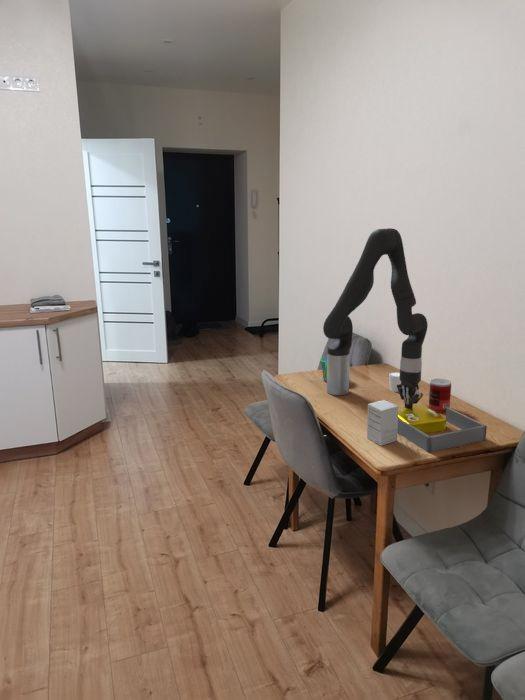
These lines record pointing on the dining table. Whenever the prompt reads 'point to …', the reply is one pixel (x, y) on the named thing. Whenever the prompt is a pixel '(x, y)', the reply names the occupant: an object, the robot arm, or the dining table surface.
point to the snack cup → (324, 367)
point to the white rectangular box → (382, 422)
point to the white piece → (394, 381)
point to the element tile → (423, 418)
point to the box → (467, 435)
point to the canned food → (439, 394)
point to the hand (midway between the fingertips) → (408, 412)
